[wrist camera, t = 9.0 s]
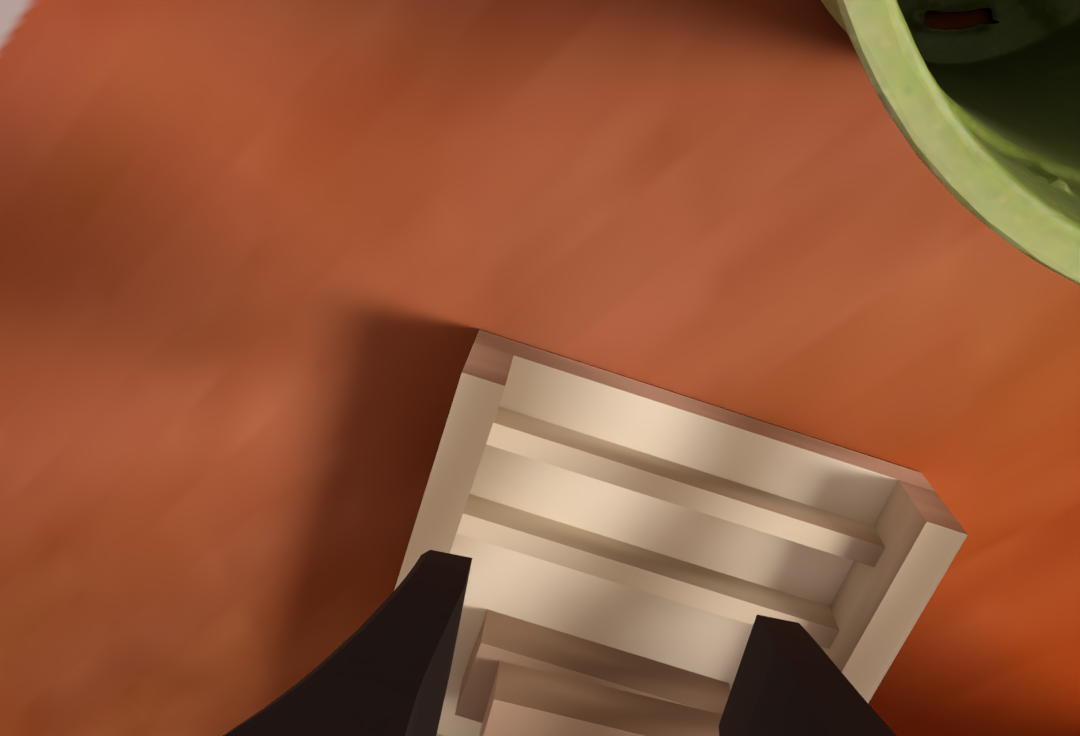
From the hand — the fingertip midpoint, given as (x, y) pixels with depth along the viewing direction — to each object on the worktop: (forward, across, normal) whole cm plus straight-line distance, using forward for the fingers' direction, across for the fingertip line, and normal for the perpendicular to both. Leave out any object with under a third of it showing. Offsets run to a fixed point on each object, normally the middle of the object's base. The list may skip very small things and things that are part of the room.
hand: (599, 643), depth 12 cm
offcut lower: (+9, -2, +9) cm, 13 cm away
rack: (+10, -2, +8) cm, 13 cm away
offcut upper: (+8, -2, +9) cm, 12 cm away
